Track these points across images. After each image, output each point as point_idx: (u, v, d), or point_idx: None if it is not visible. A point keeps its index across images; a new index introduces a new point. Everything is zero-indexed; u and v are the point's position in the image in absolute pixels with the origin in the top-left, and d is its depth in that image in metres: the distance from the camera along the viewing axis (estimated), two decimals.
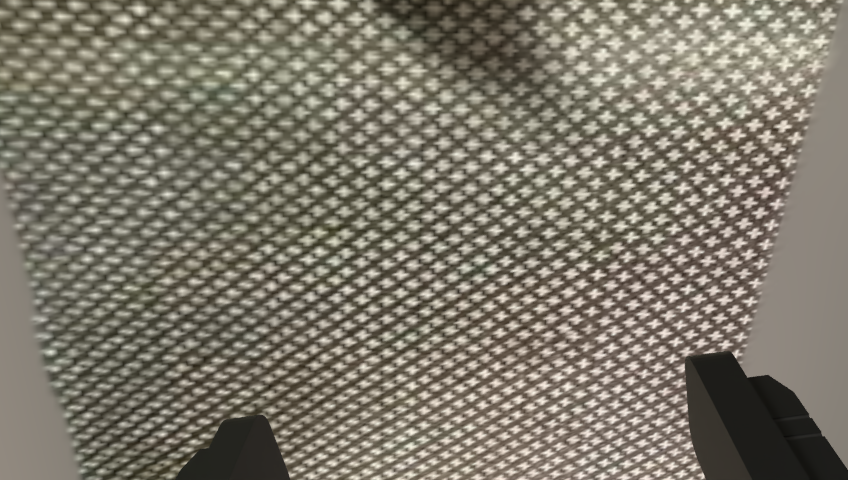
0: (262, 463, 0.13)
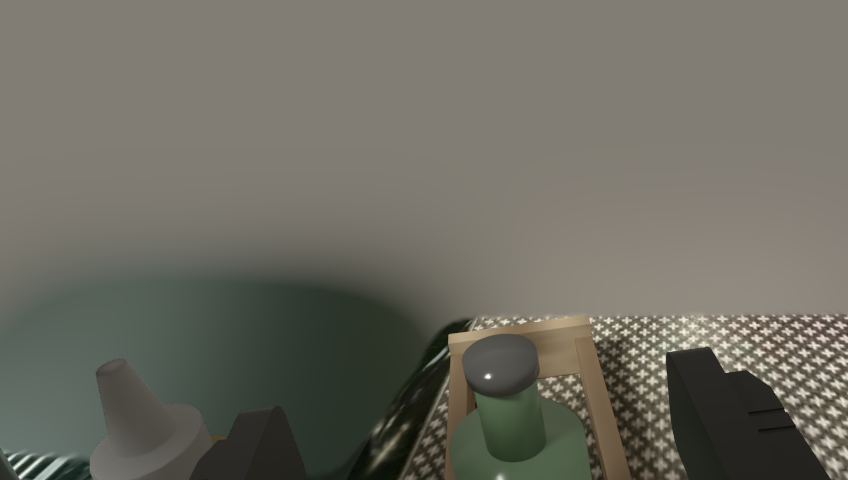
0: (279, 454, 0.13)
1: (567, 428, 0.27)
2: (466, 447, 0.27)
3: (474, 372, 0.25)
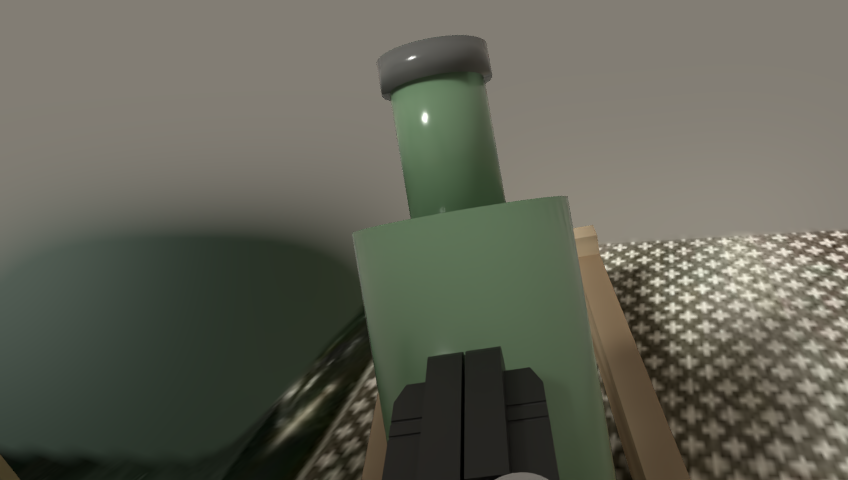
0: None
1: None
2: None
3: None
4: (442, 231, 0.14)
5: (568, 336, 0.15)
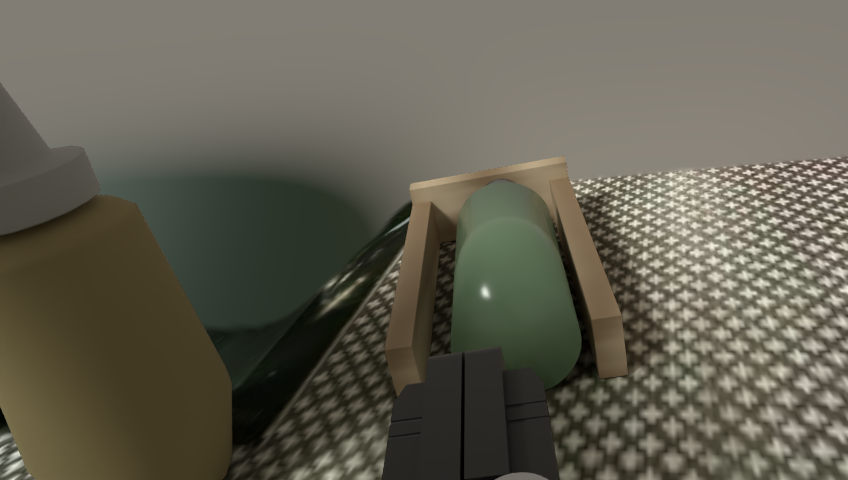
0: None
1: None
2: None
3: None
4: (504, 184, 0.38)
5: (548, 221, 0.35)
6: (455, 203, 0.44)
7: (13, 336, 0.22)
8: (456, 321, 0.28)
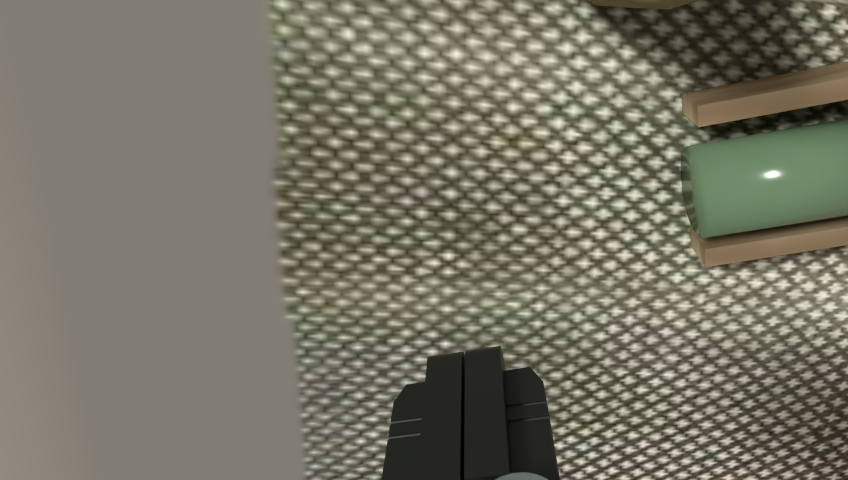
0: None
1: None
2: None
3: None
4: None
5: None
6: None
7: None
8: (698, 160, 0.37)
